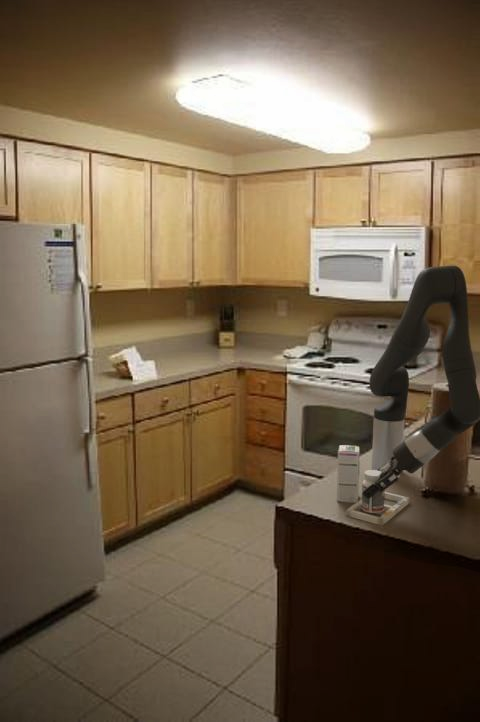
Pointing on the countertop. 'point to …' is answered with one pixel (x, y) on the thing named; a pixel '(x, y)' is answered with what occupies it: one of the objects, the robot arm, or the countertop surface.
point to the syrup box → (348, 473)
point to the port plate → (389, 510)
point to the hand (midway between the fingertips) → (366, 491)
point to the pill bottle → (377, 500)
